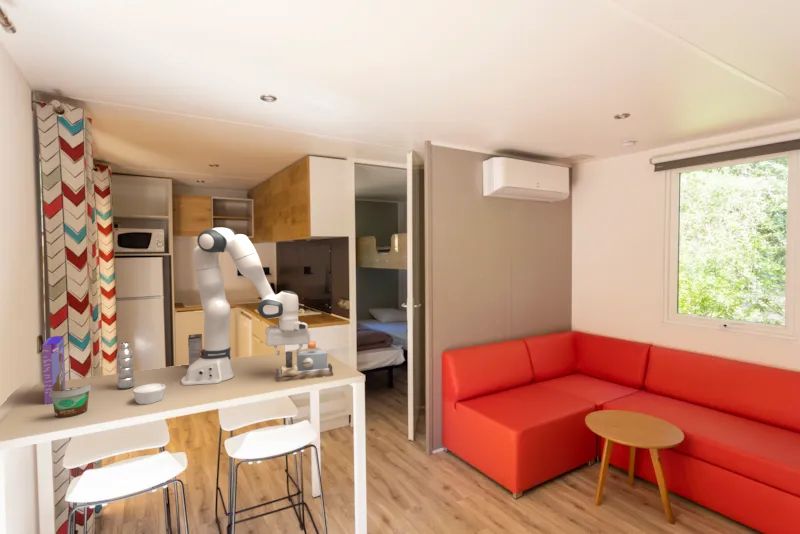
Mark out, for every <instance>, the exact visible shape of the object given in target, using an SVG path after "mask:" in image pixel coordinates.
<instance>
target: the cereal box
mask: <svg viewBox="0 0 800 534" xmlns="http://www.w3.org/2000/svg"><path fill="white" fill-rule="evenodd" d="M65 368H66V367H65V337H64V335H55V336H49V337H47V339H46V340H45V341H44V343H43V344H42V370H43V372H42V373H43V396H44V399H43V400H44V405H45V404H46V405H51V404H52V405H53V401H52V397H50V396H49V394H50V391H51V390H52V391H60V390H65V389H66V369H65Z"/></svg>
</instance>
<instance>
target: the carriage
mask: <svg viewBox="0 0 800 534" xmlns="http://www.w3.org/2000/svg"><path fill="white" fill-rule="evenodd" d="M280 372H281V373H282V377H284V376H294V375H297V373H298V368H297V364H293V351H286V352H285V365H281V366H280Z"/></svg>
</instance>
